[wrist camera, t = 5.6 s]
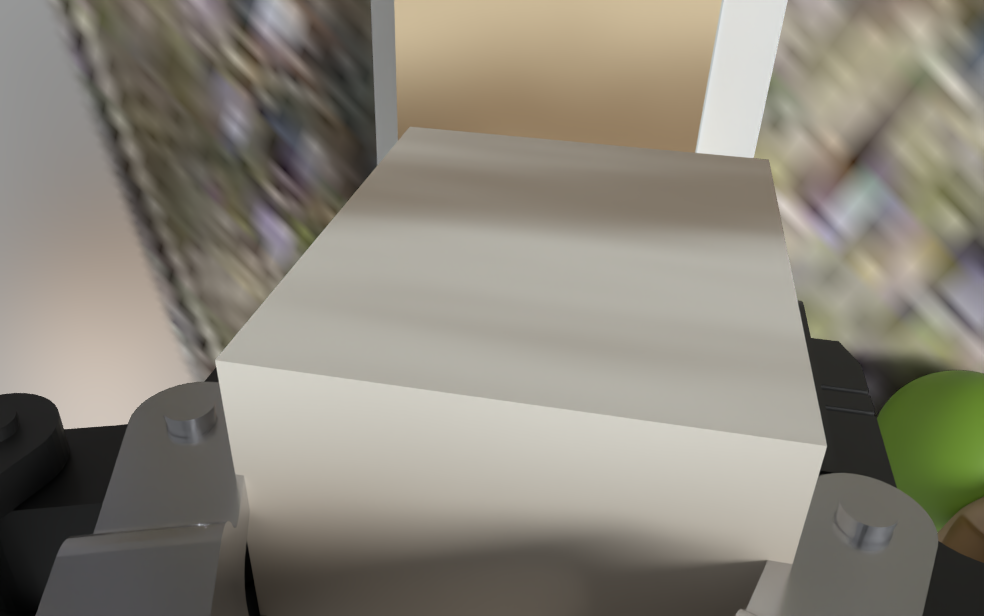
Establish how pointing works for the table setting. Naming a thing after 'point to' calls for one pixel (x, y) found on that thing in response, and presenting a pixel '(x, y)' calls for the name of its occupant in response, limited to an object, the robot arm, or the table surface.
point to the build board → (729, 94)
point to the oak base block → (557, 68)
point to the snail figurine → (941, 453)
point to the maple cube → (528, 389)
